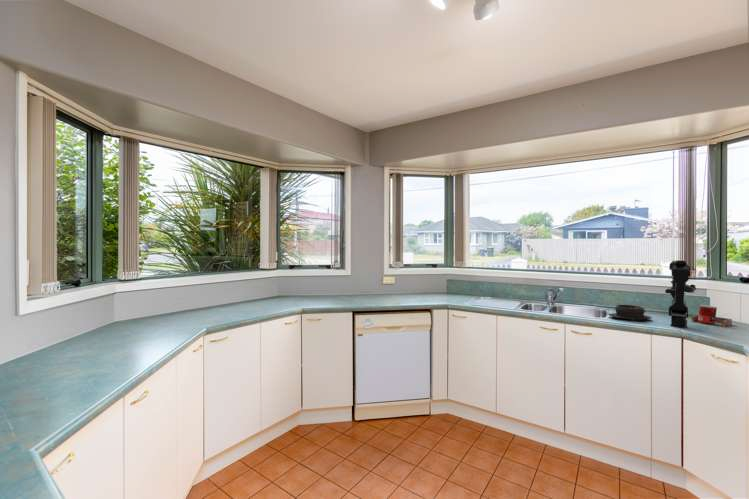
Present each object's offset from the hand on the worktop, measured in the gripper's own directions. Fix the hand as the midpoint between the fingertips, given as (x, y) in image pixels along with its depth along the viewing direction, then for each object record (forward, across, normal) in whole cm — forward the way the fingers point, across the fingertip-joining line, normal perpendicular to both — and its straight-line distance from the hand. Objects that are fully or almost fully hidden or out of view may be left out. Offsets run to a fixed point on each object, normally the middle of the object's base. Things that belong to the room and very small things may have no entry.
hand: (677, 303), depth 226 cm
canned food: (+12, +14, -10) cm, 20 cm away
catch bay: (+12, +16, -11) cm, 23 cm away
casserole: (+12, -17, +20) cm, 29 cm away
